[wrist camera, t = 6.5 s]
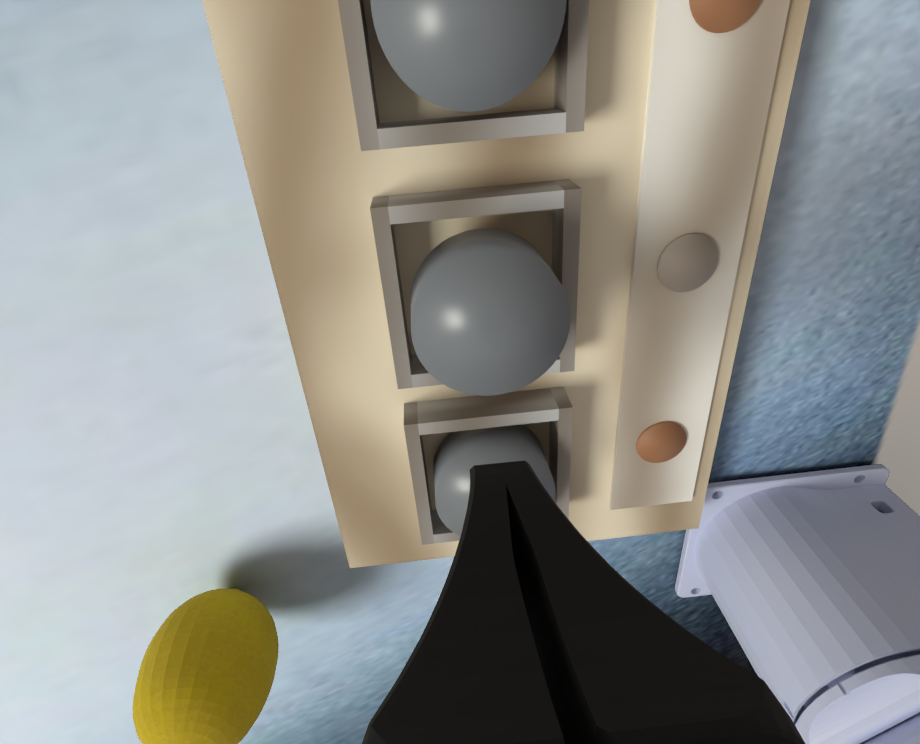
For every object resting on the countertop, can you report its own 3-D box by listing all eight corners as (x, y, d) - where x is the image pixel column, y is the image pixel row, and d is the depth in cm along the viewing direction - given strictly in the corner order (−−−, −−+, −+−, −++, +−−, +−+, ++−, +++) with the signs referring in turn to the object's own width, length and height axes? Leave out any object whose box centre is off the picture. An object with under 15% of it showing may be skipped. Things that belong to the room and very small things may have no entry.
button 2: (548, -110, 13) (569, -136, 11) (546, 97, 15) (564, 103, 13) (361, -96, 13) (354, -121, 11) (388, 112, 15) (385, 119, 13)
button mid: (554, 221, 16) (572, 241, 14) (552, 355, 18) (568, 387, 16) (401, 235, 15) (400, 258, 14) (419, 369, 18) (420, 403, 16)
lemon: (283, 549, 26) (239, 725, 19) (298, 621, 29) (264, 798, 22) (164, 555, 26) (75, 737, 19) (191, 628, 29) (122, 810, 22)
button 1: (544, 412, 20) (556, 444, 19) (543, 498, 23) (554, 535, 21) (427, 424, 20) (429, 458, 19) (438, 510, 22) (441, 548, 21)
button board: (820, -282, 13) (935, -376, 10) (679, 497, 27) (713, 552, 24) (166, -238, 13) (94, -325, 10) (353, 534, 26) (346, 594, 23)
